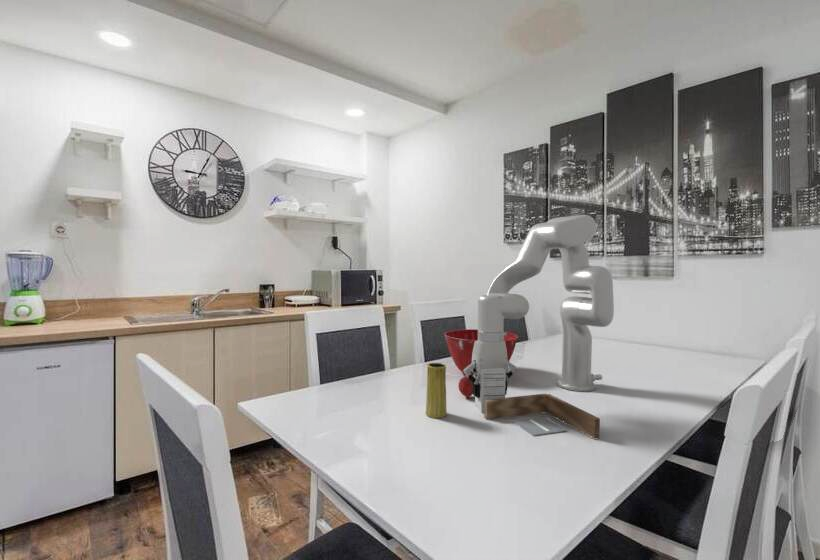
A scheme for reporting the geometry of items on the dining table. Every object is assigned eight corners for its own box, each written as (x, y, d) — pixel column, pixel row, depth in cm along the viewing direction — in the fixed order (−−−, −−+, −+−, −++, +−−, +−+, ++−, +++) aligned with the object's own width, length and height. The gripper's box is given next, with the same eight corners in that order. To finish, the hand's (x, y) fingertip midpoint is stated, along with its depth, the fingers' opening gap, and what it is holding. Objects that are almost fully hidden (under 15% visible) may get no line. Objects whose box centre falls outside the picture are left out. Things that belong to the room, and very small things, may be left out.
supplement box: (474, 404, 126) (474, 363, 126) (498, 403, 127) (498, 363, 127) (480, 413, 119) (481, 369, 119) (505, 412, 120) (506, 369, 119)
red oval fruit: (476, 401, 130) (476, 375, 129) (457, 399, 131) (457, 374, 130) (476, 395, 135) (477, 371, 135) (459, 394, 136) (459, 370, 136)
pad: (543, 417, 116) (543, 416, 116) (567, 431, 106) (567, 430, 106) (512, 421, 113) (512, 420, 113) (533, 436, 103) (533, 434, 103)
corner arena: (547, 410, 122) (547, 393, 122) (599, 438, 102) (599, 418, 102) (484, 417, 116) (484, 400, 115) (526, 449, 96) (526, 428, 96)
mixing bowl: (465, 361, 183) (465, 326, 182) (528, 371, 166) (529, 332, 166) (430, 374, 160) (430, 335, 159) (499, 388, 143) (500, 343, 143)
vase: (432, 419, 114) (432, 368, 113) (421, 412, 119) (421, 363, 119) (451, 416, 117) (451, 366, 116) (439, 409, 122) (440, 361, 122)
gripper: (509, 333, 128) (508, 388, 129) (458, 336, 123) (457, 394, 124) (523, 337, 121) (522, 396, 122) (469, 340, 116) (468, 402, 117)
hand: (489, 394), depth 123 cm, fingers closed on supplement box, 8 cm apart
